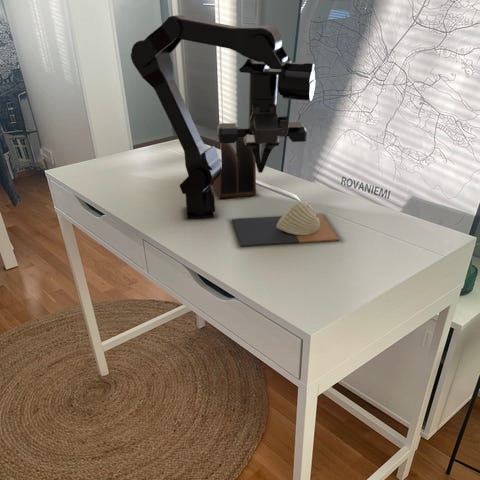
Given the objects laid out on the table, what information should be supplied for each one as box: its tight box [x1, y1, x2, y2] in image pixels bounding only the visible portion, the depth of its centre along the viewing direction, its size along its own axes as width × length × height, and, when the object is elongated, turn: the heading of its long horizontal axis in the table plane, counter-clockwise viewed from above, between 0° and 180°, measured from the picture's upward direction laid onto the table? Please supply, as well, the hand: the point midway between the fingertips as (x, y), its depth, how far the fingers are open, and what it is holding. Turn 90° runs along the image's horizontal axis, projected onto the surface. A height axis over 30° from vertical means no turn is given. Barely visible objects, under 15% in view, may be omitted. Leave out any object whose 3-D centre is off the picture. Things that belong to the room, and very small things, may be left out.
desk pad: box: [232, 213, 340, 248], centre depth 112 cm, size 22×14×1 cm, turn 98°
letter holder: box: [212, 126, 257, 199], centre depth 132 cm, size 10×20×14 cm, turn 14°
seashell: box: [276, 200, 320, 235], centre depth 110 cm, size 8×8×8 cm
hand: (260, 172), depth 109 cm, fingers closed
